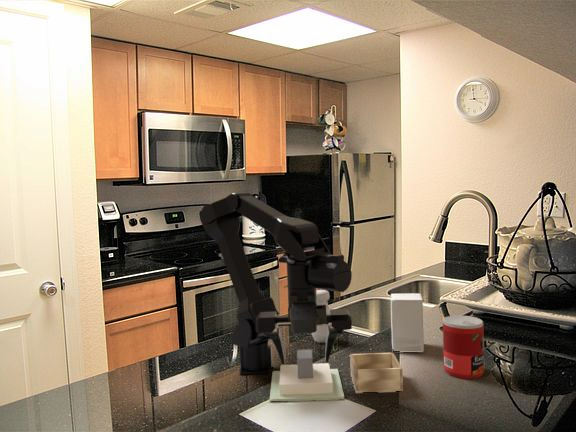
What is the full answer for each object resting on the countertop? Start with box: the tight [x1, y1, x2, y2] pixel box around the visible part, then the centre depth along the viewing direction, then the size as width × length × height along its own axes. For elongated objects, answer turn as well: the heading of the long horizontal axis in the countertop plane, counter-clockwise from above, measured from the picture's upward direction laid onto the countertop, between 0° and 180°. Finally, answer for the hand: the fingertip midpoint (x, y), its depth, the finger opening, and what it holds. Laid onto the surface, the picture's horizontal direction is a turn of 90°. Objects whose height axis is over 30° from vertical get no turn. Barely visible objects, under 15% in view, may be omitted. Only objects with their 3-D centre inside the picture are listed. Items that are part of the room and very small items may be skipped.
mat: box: [269, 368, 345, 402], centre depth 99 cm, size 14×14×1 cm
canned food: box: [442, 314, 485, 380], centre depth 102 cm, size 8×8×11 cm
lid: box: [279, 349, 333, 395], centre depth 99 cm, size 10×10×6 cm
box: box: [349, 352, 404, 394], centre depth 98 cm, size 9×9×4 cm
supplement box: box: [390, 292, 425, 352], centre depth 118 cm, size 7×7×13 cm
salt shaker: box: [310, 289, 331, 344], centre depth 126 cm, size 6×6×13 cm
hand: (305, 362), depth 99 cm, fingers open, 8 cm apart
